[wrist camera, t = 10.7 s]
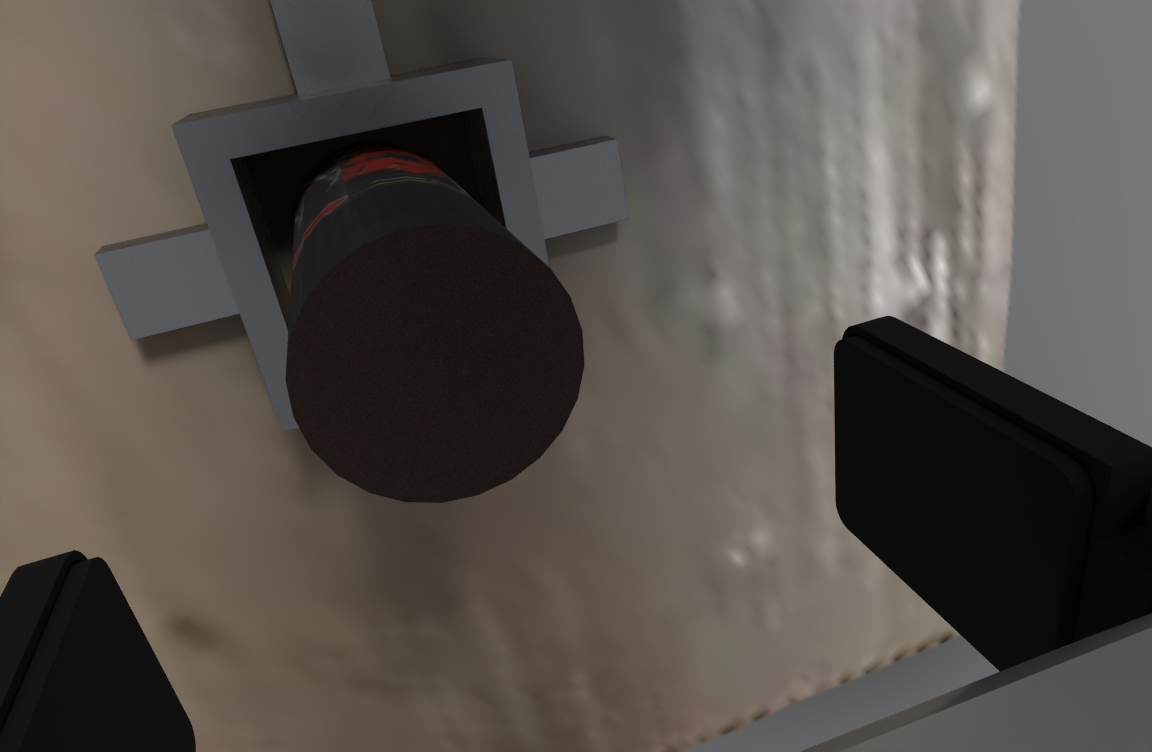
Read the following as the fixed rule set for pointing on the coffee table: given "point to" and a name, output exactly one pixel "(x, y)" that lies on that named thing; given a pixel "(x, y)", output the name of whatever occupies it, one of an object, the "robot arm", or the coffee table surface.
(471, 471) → the deodorant
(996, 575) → the robot arm
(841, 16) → the coffee table surface
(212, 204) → the tabbed square frame
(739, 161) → the coffee table surface
